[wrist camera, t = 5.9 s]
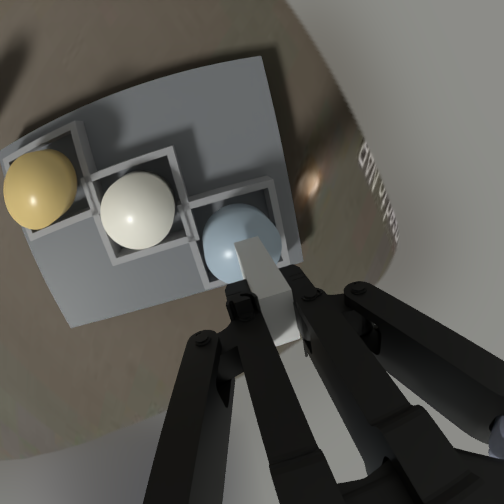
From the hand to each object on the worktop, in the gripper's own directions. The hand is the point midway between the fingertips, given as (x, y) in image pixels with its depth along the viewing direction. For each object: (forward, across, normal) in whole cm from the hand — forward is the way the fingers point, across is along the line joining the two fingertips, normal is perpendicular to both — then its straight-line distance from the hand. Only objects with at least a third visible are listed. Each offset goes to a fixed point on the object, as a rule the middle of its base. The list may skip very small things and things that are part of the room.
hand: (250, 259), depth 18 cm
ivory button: (+5, -6, +4) cm, 9 cm away
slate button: (+4, 0, 0) cm, 4 cm away
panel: (+8, -6, +4) cm, 11 cm away
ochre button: (+3, -12, +8) cm, 15 cm away
